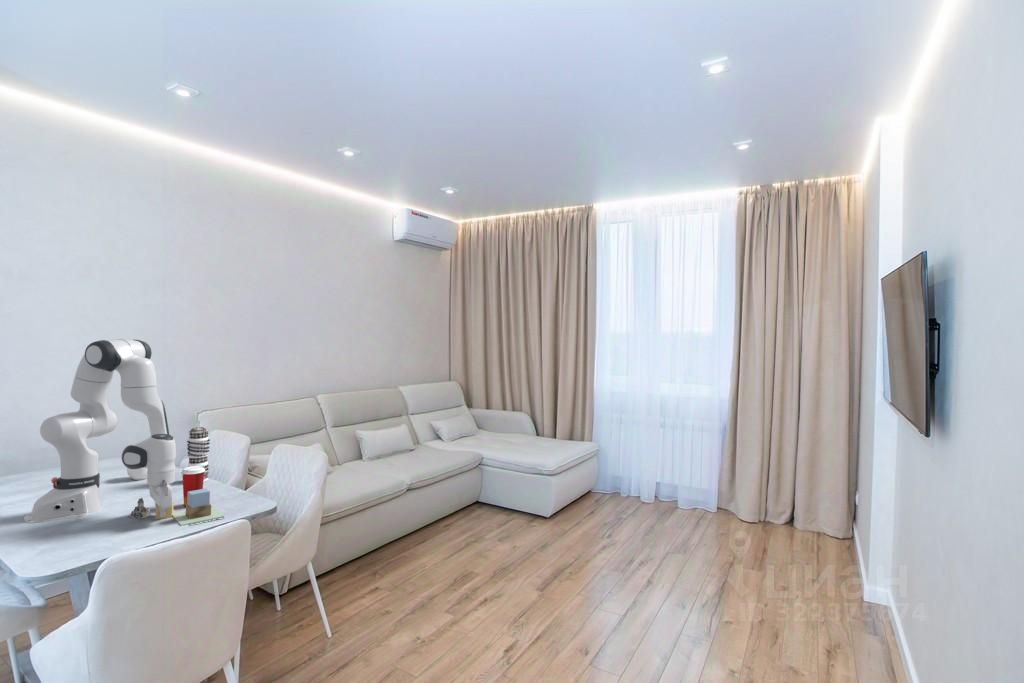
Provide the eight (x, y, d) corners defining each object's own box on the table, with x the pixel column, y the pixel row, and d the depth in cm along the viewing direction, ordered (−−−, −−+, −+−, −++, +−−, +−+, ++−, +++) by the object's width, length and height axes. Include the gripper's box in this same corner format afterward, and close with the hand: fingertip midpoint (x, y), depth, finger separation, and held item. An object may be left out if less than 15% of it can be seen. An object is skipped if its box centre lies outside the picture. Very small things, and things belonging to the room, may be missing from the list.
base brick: (189, 519, 186) (189, 508, 186) (185, 515, 191) (185, 504, 191) (210, 515, 191) (211, 504, 191) (206, 511, 196) (206, 500, 196)
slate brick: (191, 508, 187) (191, 494, 187) (187, 504, 190) (187, 491, 190) (209, 504, 192) (209, 491, 192) (205, 501, 195) (205, 488, 195)
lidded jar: (122, 478, 239) (123, 459, 239) (148, 474, 248) (149, 455, 248) (131, 482, 233) (131, 462, 233) (158, 477, 242) (158, 458, 242)
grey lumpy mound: (167, 514, 194) (167, 495, 194) (144, 522, 186) (145, 501, 186) (150, 511, 197) (150, 492, 197) (127, 519, 189) (127, 498, 189)
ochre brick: (155, 520, 187) (156, 507, 187) (157, 517, 191) (157, 503, 191) (171, 518, 189) (172, 505, 189) (173, 515, 193) (173, 502, 193)
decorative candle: (207, 482, 237) (208, 429, 236) (184, 483, 233) (185, 430, 233) (210, 477, 245) (212, 425, 245) (188, 478, 242) (189, 426, 241)
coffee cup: (201, 500, 211) (202, 464, 211) (206, 505, 205) (207, 468, 205) (178, 504, 205) (178, 467, 205) (182, 509, 199) (183, 471, 199)
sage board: (180, 527, 181) (181, 524, 181) (172, 517, 191) (172, 514, 191) (224, 518, 191) (224, 515, 191) (213, 509, 201) (213, 506, 201)
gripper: (177, 482, 184) (176, 519, 184) (165, 470, 199) (164, 505, 199) (157, 485, 180) (156, 524, 180) (146, 473, 194) (145, 509, 194)
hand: (160, 514), depth 189 cm, fingers closed on ochre brick, 5 cm apart
